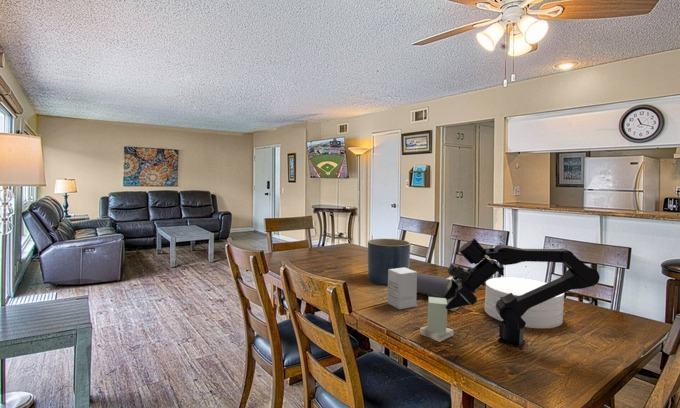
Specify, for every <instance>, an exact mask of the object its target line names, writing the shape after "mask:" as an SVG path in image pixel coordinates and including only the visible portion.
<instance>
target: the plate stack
mask: <svg viewBox="0 0 680 408" xmlns="http://www.w3.org/2000/svg"><path fill="white" fill-rule="evenodd" d="M547 283H548V282H545V281H544V282H543V281H540V280H536V279H530V278H522V277H512V276H511V277H508V276H503V277H501V276H500V277H491V278H489V279H488V280H487V281H486V282H485V295H484V298H485V299H484V312H485V313H486V314H487V315H488V316H490V317H492V318H493V319H495V320H498V321H500V322H501V321H503V319H502V318H501V317H500V315H499V314H498V312H497V310H496V303H497V301H498V300H500V297H504V296H506V295H508V294H509V293H512V294H513V295H514V296H520V295H523V294H525V293H527V292H529V291H532V290H534V289H536V288H538V287H540V286H543V285H545V284H547ZM564 297H565V293H562V294H560V295H558V296H556V297H554V298H551V299H549V300H547V301H545V302H542V303H540V304H538V305H536V306H533V307H531V308H529V309H528V310H527V311H526V312H525V313H524V314H523V316H521V318H522V319H523V320H524V321H525V323H526V325H525V327H524V328H531V329H532V328H533V329H553V328H557V327H560V326H562V324H563V321H564V319H563V317H564V307H565V306H564V303H565V298H564Z"/></svg>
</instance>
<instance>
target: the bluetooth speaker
mask: <svg viewBox="0 0 680 408" xmlns="http://www.w3.org/2000/svg"><path fill="white" fill-rule="evenodd" d="M447 278H448V277H443V276H438V275H433V274H426V273H418V272H417V293H420V294H423V295H427V298H429V297H436V298H443V297H444V296H445V292H446V279H447Z"/></svg>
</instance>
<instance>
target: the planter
mask: <svg viewBox="0 0 680 408" xmlns="http://www.w3.org/2000/svg"><path fill="white" fill-rule="evenodd" d="M410 257H411V242H410V241H407V240H403V239H396V238H373V239H369V240H367V280H368V281H369V282H371V283H373V284H377V285H381V286H382V285H383V286H388V269H396V268H404V267H405V268H408V269H410V261H411V260H410Z"/></svg>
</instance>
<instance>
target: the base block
mask: <svg viewBox="0 0 680 408" xmlns="http://www.w3.org/2000/svg"><path fill="white" fill-rule="evenodd" d="M419 335H422V336H425V337H427V338H429V339H432V340H434V341H437V342H439V343H440V342H442V341H444V340H447V339H449V338H451V337H454V329H452V328H448V327H447V326H446V333H438V332H429V331H428V328H427V325H425V326H422V327H420V328H419Z"/></svg>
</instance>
